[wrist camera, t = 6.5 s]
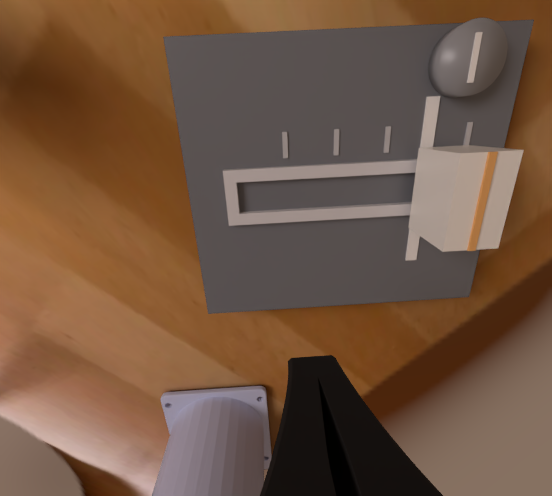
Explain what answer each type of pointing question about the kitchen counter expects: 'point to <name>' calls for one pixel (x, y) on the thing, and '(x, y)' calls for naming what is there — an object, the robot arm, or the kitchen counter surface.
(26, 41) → the kitchen counter surface
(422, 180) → the fader cap
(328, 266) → the console
